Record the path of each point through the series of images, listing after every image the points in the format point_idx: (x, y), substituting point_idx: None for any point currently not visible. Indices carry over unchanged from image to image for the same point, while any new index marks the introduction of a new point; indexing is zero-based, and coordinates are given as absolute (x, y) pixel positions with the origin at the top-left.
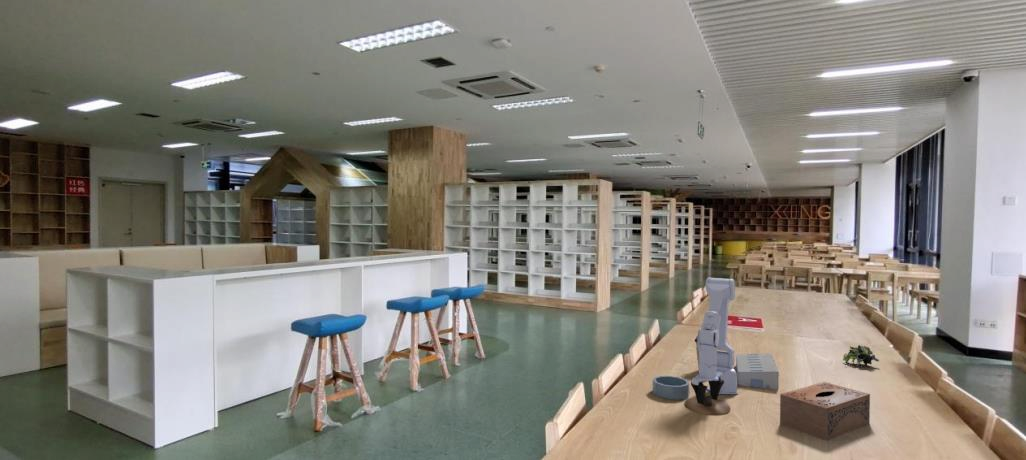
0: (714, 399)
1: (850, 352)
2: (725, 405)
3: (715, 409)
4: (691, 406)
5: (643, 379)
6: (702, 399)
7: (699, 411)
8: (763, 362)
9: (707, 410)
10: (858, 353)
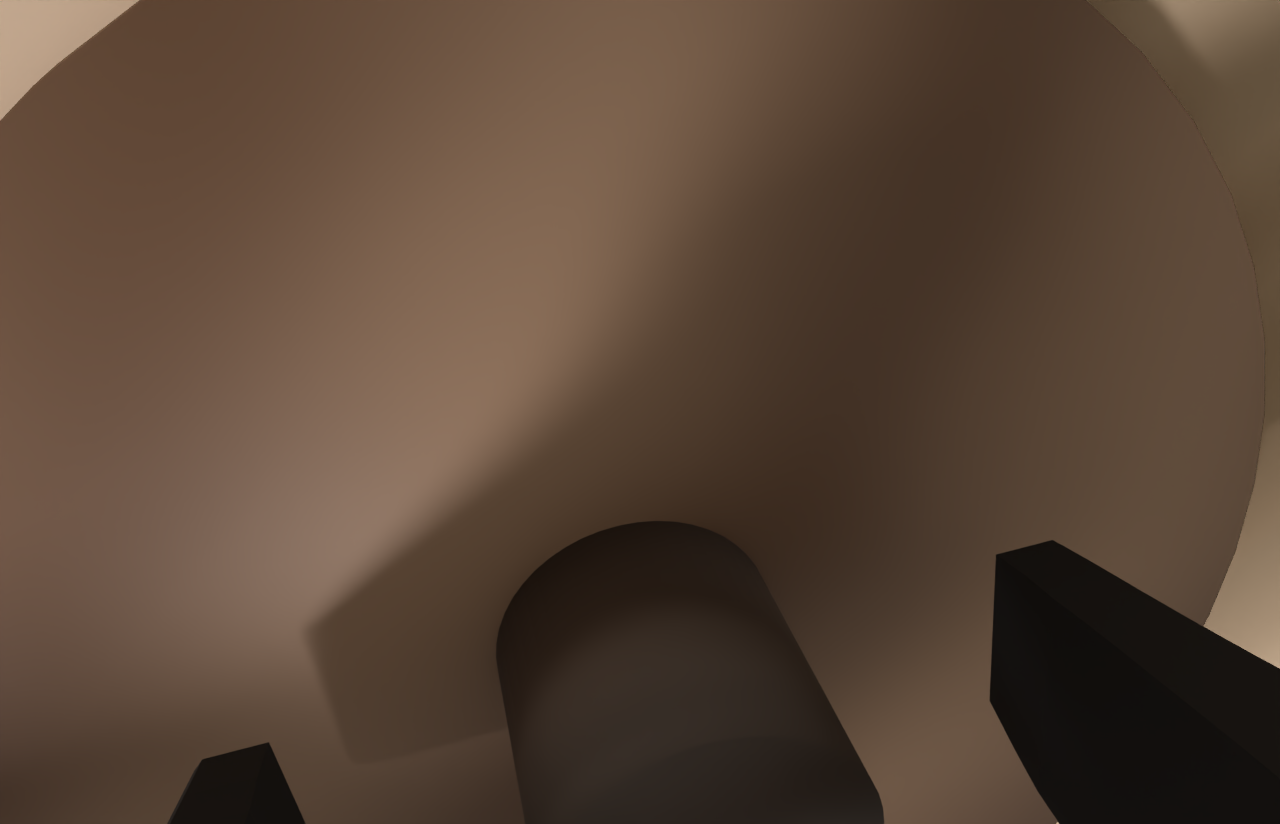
0: (285, 801)
1: None
2: (16, 435)
3: (718, 243)
4: None
5: None
6: (1207, 646)
7: (1247, 312)
8: None
9: (1024, 272)
10: None
